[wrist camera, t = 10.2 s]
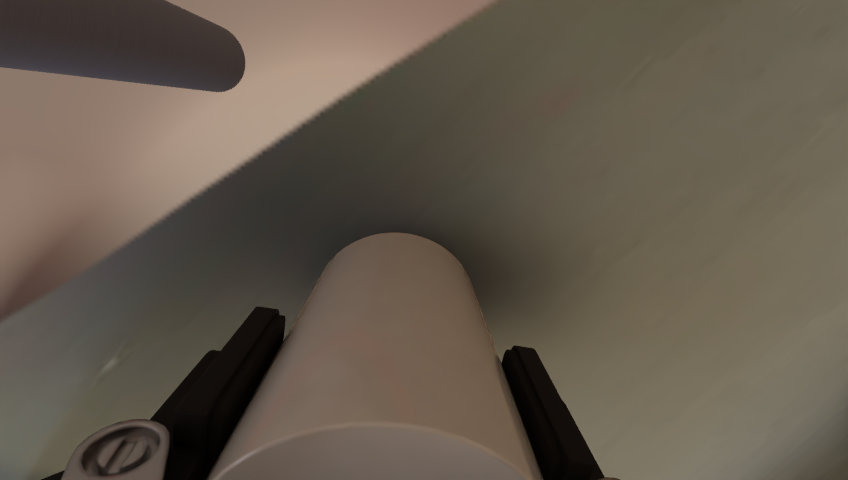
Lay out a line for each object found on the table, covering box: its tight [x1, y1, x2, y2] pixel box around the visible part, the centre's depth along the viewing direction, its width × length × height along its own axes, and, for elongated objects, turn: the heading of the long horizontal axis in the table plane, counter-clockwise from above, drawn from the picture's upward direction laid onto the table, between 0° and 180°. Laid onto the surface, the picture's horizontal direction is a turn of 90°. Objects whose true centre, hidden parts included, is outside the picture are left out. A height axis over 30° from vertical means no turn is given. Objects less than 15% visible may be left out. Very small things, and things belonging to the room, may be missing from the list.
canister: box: [206, 233, 544, 480], centre depth 10 cm, size 6×6×9 cm
